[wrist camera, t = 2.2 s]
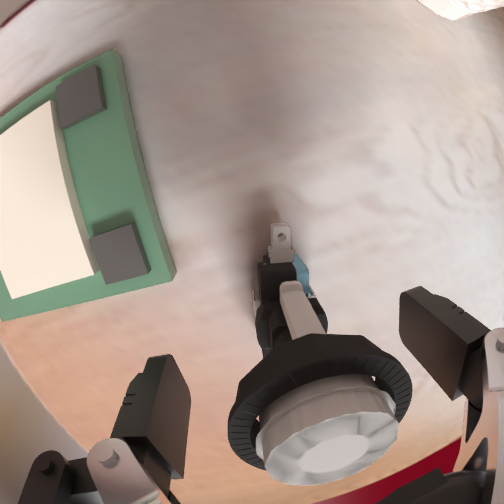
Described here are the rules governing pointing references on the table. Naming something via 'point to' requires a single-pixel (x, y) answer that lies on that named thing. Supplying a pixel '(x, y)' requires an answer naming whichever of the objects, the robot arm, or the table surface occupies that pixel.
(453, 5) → the white cup
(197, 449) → the table surface
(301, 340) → the push button
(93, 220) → the board
